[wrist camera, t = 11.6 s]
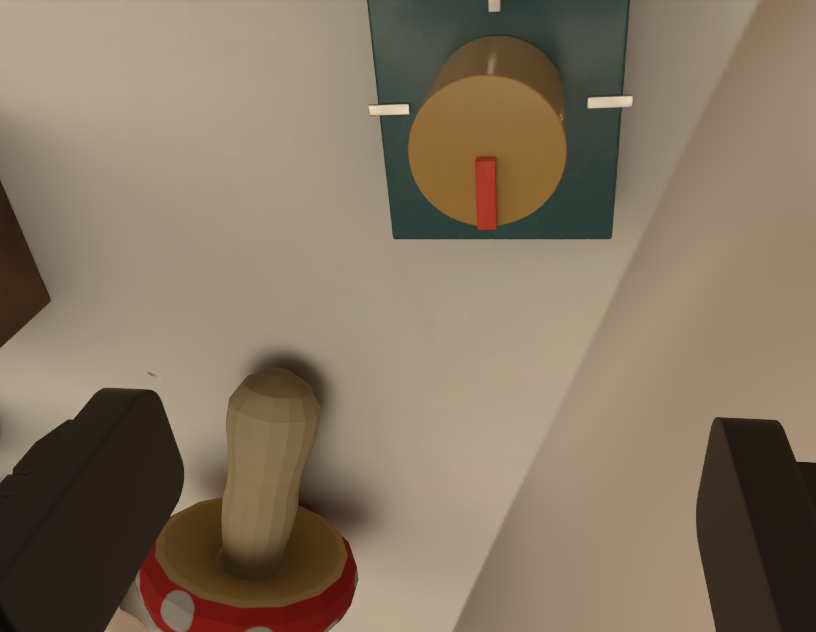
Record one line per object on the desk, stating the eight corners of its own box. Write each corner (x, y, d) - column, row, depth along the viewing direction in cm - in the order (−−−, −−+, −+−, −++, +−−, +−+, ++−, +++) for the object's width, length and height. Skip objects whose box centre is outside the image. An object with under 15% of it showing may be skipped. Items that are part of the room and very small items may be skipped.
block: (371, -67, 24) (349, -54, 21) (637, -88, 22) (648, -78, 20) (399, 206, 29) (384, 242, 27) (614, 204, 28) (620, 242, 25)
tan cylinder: (425, 38, 23) (398, 81, 19) (567, 31, 22) (569, 73, 18) (434, 169, 25) (412, 231, 21) (562, 167, 24) (564, 231, 20)
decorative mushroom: (181, 426, 26) (144, 751, 30) (437, 418, 32) (379, 693, 36) (139, 329, 36) (115, 586, 39) (343, 335, 41) (304, 560, 45)
